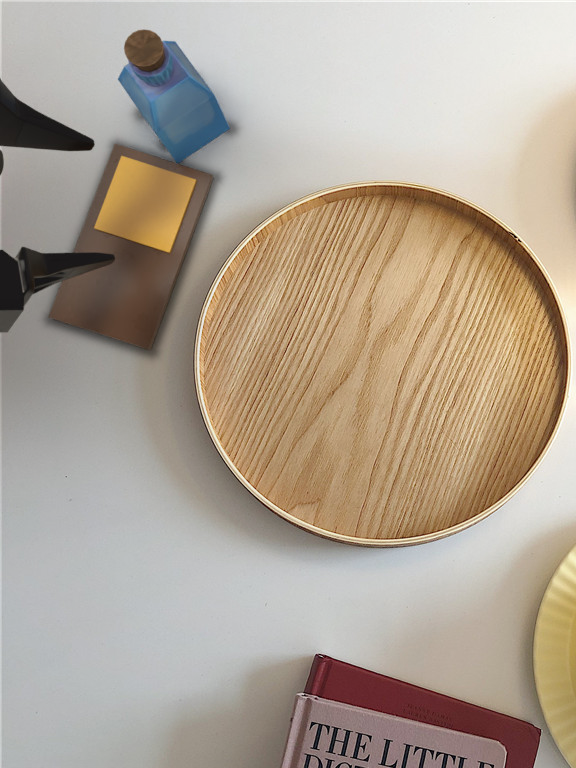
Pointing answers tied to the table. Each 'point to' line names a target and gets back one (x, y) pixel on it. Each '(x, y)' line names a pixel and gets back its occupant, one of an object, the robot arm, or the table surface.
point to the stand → (133, 246)
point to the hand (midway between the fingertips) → (103, 201)
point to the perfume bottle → (170, 94)
